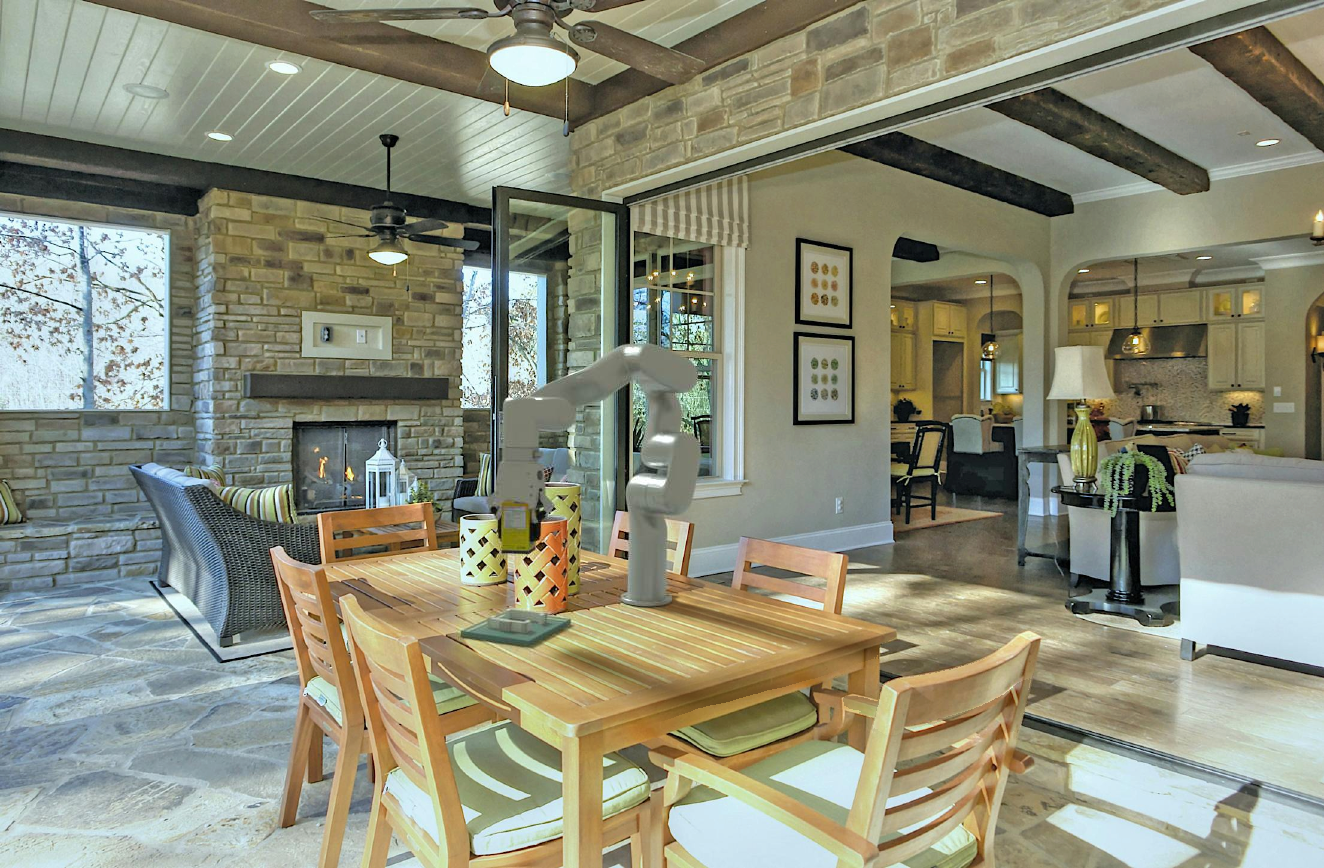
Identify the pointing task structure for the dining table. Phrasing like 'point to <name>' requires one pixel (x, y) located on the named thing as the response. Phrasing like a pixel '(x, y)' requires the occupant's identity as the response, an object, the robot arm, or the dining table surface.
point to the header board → (516, 627)
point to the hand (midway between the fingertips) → (518, 538)
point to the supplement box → (516, 529)
